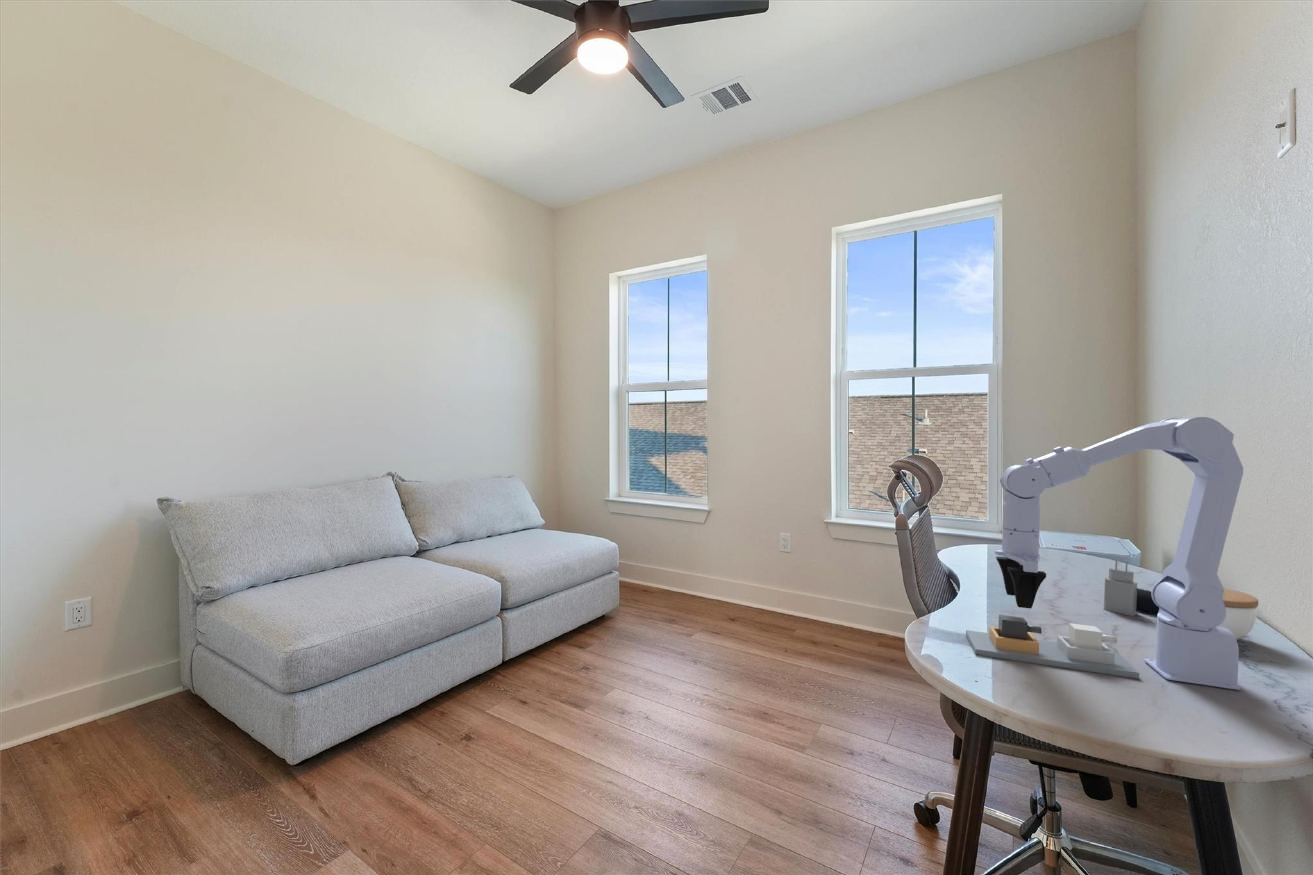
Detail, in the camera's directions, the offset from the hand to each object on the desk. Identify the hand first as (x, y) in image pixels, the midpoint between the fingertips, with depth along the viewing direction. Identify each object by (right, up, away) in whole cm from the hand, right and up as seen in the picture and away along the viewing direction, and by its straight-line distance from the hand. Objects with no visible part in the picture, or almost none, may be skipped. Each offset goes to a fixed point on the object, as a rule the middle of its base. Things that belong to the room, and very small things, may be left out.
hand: (1018, 601), depth 101 cm
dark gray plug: (0, -8, 0) cm, 8 cm away
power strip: (+4, -9, -2) cm, 10 cm away
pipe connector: (+51, -10, +21) cm, 56 cm away
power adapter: (+39, -10, +23) cm, 46 cm away
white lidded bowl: (+45, -10, +9) cm, 47 cm away
